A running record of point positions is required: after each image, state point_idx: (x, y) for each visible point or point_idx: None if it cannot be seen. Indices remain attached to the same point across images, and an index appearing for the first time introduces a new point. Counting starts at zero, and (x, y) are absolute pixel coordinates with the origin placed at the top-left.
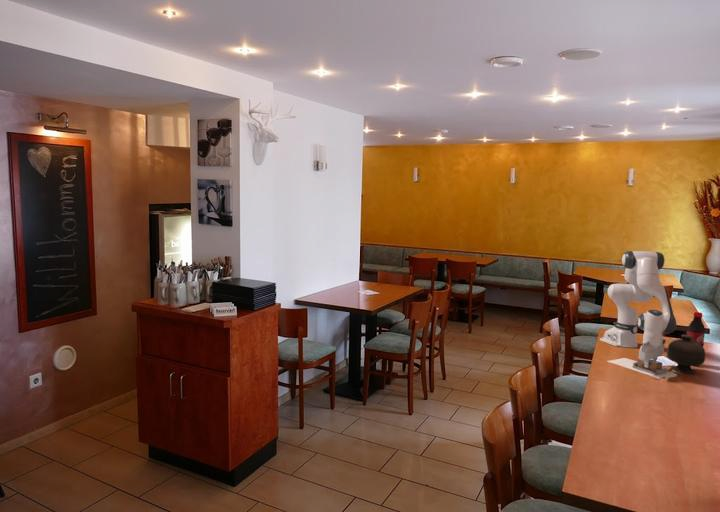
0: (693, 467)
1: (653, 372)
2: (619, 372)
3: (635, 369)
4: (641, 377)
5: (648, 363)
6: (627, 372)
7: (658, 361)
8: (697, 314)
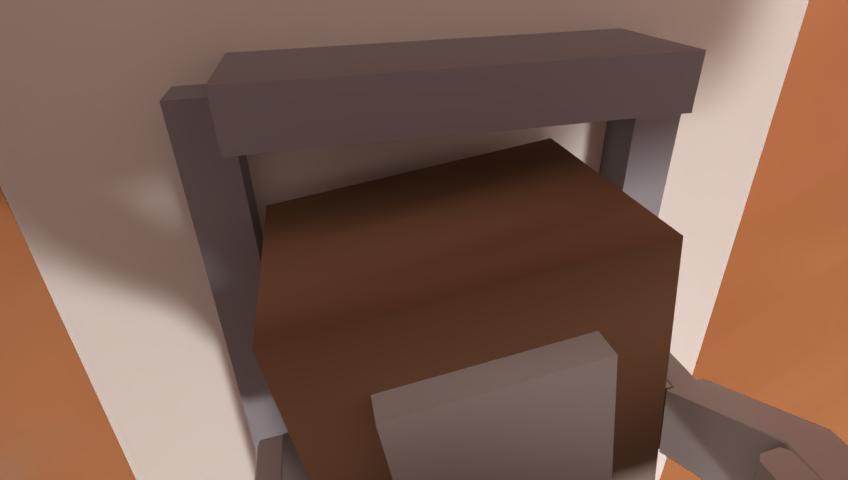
0: None
1: (672, 131)
2: (826, 379)
3: None
4: (840, 140)
5: (704, 403)
6: (745, 364)
7: (384, 442)
8: None
